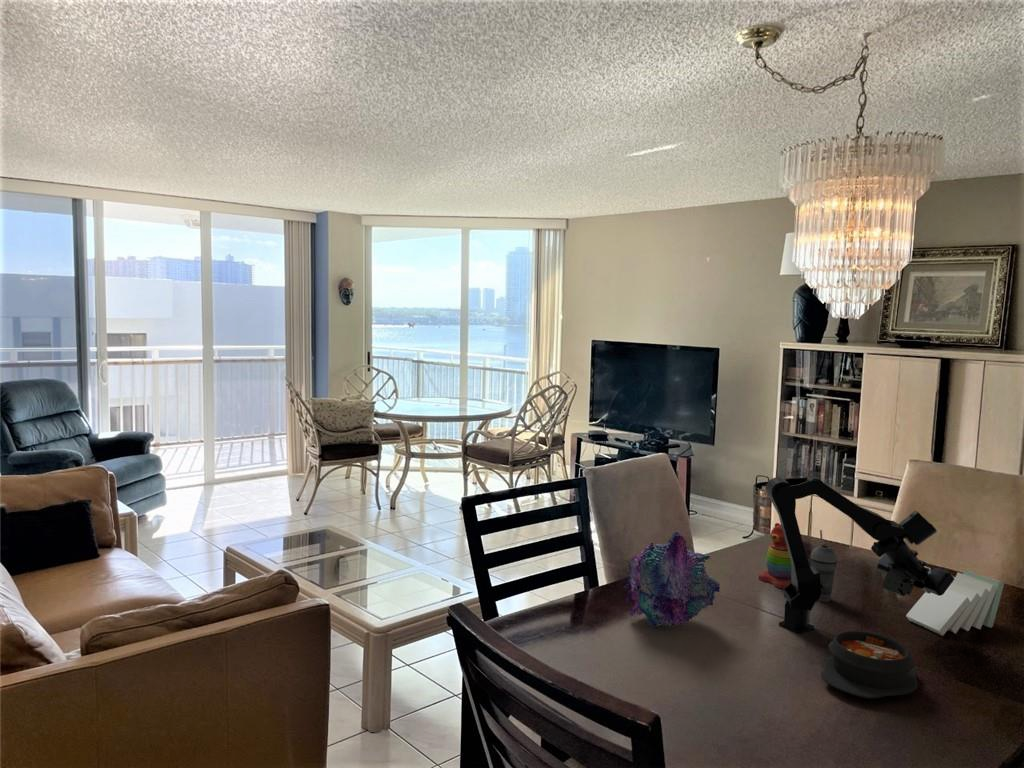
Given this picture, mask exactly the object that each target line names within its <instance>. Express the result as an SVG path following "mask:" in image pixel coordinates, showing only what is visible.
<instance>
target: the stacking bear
mask: <svg viewBox="0 0 1024 768" xmlns="http://www.w3.org/2000/svg"><path fill="white" fill-rule="evenodd" d="M770 538H771V540H772V542H771V543H770V545H769V546H768V549H767V553H766V559H765V561H766V566H767V571H763V572H760V573H759V574H758V580H760V581H762V580H763V582H766V581H767V583H770V584H772V585H773V586H774V587H775V586H776V587H775V588H778V589H782V588H783V589H784V588H785V587H786V586H788V585H789V584H790V583H791V582H792V580H791V568H792V564H791V560H790V556H789V552H788V549H787V545H786V541H785V537H784V534H783V530H782V526H781V523H780V522H776V523H775V524H774V527H773V528H772V529H771V532H770ZM783 589H782V590H783Z"/></svg>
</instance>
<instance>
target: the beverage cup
mask: <svg viewBox="0 0 1024 768" xmlns="http://www.w3.org/2000/svg"><path fill="white" fill-rule="evenodd" d="M819 535H820V545H818V546H816V547H814V548H813V550H812V551H811V554H810V557H809V559H810V566H813V567H814V568H815V569H816V570H817V571H818V572H819V574H820V582H821V585H822V586H823V587H824V589H822V588H821V591H822V595H821V597H820V598H819V599H818V600H817V602H825V603H826V602H830V601H831V597H832V591H833V585H834V584H833V583H834V578H835V572H836V568H837V565H838V564H837V563H838V562H839V561H838V557H837V553H836V551H834V549H833V548H832V547H830V546H829V545H825V544H824V541H823V530H822V529H820V530H819Z"/></svg>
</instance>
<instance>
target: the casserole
mask: <svg viewBox="0 0 1024 768" xmlns="http://www.w3.org/2000/svg"><path fill="white" fill-rule="evenodd" d="M827 646H828V651H829V652H830V654H831V655H830V656H828V657H827V658H826V659H825V660H824V661H823V670H822V671H821V673H820V677H821V679H822V680H823V681H824V682H825V683H826V684H828V685H829V686H831V687H833V688H835V689H837V690H840V691H841V692H843V693H847V694H850V695H852V696H856V697H859V698H864V699H868V700H869V699H873V700H874V699H879V698H884V697H891V696H904V695H907V694H911V693H913V692H915V691H916V690H917V689H918V687H919V683H918V679H917V673H918V670H917V668H916V667H915V665H916V663H915V660H914V659H913V657H912V655H911V653H910V650H909V649H908V647H906V646H905V645H904V644H903V643H901V642H899V641H898V640H895V639H893V638H890V637H888V636H885V635H881V634H878V633H873V632H867V631H857V630H848V631H842V632H838V633H837V634H835V635H834V637H833V639H832V641H830V642H829V643H828V645H827Z"/></svg>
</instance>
